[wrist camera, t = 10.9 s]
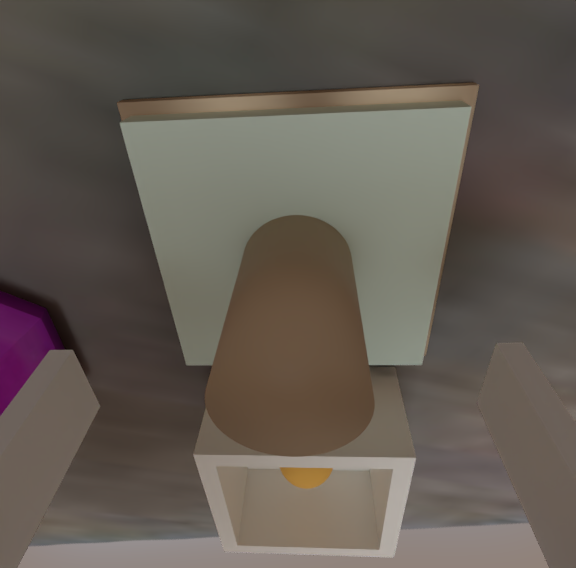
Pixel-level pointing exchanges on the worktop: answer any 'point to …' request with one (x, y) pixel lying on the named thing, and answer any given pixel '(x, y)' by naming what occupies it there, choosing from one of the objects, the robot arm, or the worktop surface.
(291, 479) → the orange
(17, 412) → the robot arm
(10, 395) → the magenta low-poly plum
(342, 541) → the white open box
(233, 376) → the lid
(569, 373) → the worktop surface
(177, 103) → the mat
